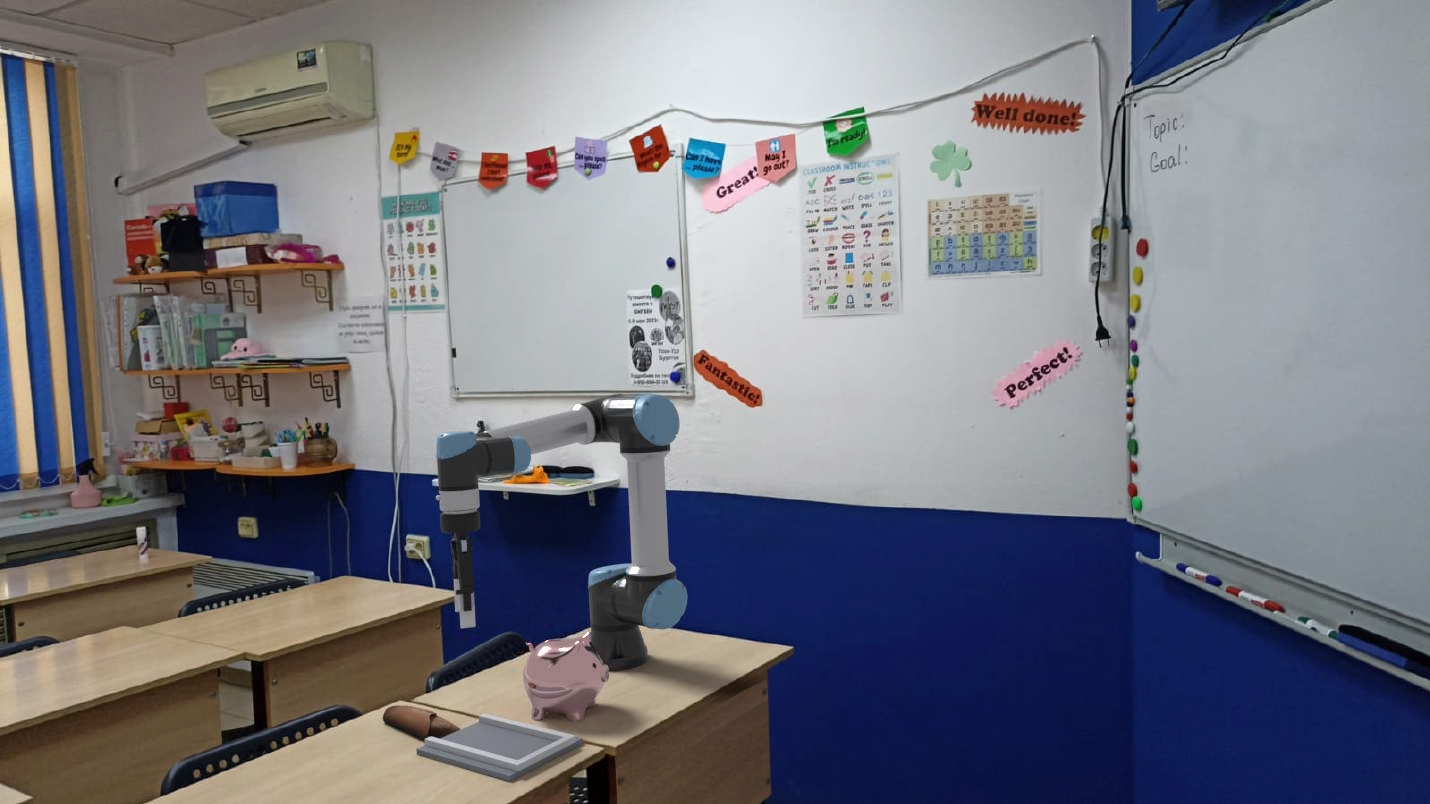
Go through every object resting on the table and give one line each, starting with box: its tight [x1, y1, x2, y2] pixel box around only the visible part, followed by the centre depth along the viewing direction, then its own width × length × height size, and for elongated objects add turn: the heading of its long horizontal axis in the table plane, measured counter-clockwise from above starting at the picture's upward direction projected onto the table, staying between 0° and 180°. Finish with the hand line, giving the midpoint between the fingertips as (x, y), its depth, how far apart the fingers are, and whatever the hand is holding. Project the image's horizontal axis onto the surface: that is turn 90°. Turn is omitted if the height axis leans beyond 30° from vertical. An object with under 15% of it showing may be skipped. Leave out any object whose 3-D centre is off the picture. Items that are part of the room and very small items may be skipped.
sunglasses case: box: [382, 704, 462, 740], centre depth 199 cm, size 18×7×7 cm, turn 47°
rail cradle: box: [416, 713, 584, 782], centre depth 186 cm, size 19×25×2 cm
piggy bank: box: [522, 631, 610, 722], centre depth 204 cm, size 15×18×16 cm
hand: (465, 618), depth 191 cm, fingers open, 13 cm apart
